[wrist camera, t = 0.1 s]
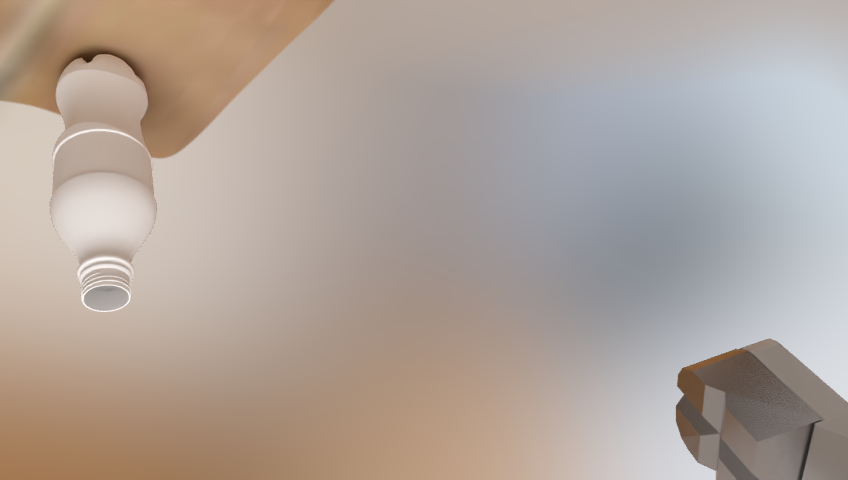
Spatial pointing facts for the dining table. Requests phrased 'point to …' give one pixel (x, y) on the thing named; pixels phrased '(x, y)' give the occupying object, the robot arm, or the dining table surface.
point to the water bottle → (102, 177)
